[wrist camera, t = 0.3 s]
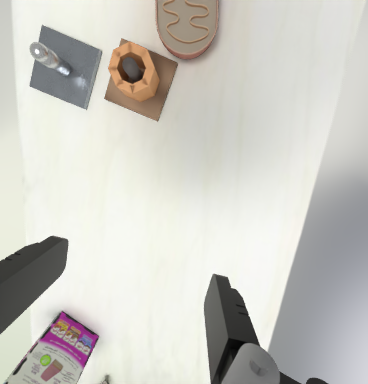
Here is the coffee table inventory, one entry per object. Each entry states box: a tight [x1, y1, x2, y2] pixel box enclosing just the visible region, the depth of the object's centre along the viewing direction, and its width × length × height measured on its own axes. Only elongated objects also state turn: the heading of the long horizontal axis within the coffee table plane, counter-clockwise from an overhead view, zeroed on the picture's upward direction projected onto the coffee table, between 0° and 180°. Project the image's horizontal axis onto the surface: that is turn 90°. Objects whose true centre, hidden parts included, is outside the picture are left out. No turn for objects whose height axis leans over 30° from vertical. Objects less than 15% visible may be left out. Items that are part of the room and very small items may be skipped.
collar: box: [108, 41, 160, 102], centre depth 30 cm, size 6×6×5 cm
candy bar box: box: [3, 312, 99, 384], centre depth 37 cm, size 11×5×16 cm, turn 49°
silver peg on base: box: [30, 25, 102, 110], centre depth 30 cm, size 10×10×7 cm
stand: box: [104, 38, 177, 121], centre depth 30 cm, size 10×10×7 cm
